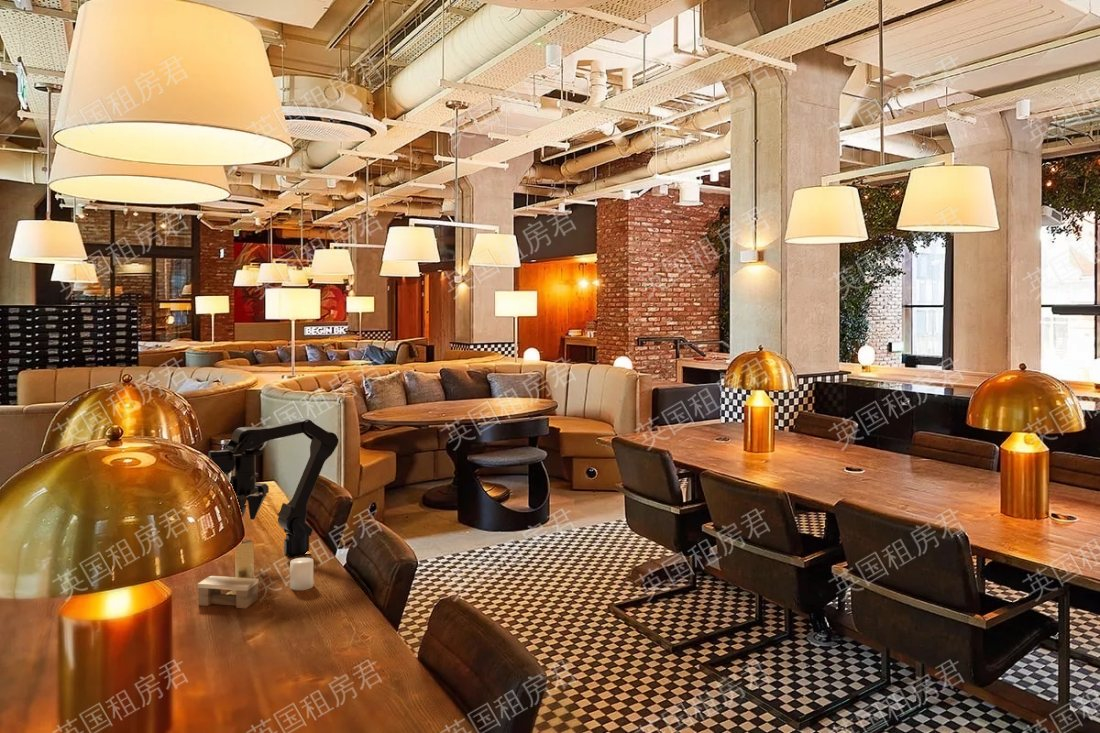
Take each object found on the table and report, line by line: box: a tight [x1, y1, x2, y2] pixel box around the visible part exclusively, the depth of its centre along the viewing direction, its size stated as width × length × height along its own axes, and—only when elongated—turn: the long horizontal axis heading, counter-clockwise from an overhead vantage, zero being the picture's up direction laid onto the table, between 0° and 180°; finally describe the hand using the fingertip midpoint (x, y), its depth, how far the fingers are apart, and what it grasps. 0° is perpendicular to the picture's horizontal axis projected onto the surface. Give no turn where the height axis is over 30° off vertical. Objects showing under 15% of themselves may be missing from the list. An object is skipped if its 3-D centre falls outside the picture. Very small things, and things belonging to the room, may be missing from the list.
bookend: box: [225, 539, 255, 595], centre depth 196 cm, size 12×6×13 cm, turn 174°
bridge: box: [197, 575, 260, 609], centre depth 191 cm, size 6×13×6 cm, turn 84°
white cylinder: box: [289, 557, 314, 591], centre depth 204 cm, size 6×6×7 cm
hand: (245, 523), depth 220 cm, fingers open, 9 cm apart
